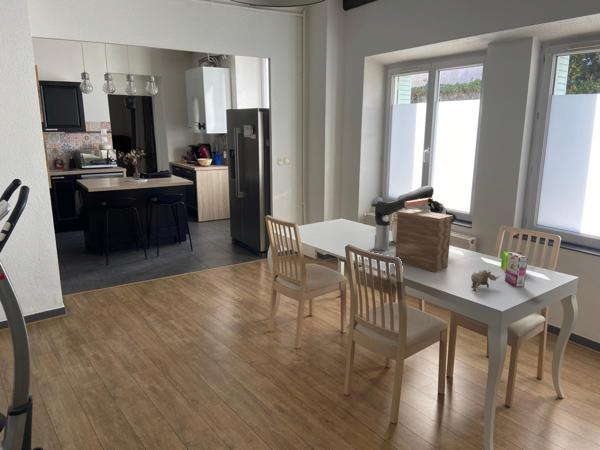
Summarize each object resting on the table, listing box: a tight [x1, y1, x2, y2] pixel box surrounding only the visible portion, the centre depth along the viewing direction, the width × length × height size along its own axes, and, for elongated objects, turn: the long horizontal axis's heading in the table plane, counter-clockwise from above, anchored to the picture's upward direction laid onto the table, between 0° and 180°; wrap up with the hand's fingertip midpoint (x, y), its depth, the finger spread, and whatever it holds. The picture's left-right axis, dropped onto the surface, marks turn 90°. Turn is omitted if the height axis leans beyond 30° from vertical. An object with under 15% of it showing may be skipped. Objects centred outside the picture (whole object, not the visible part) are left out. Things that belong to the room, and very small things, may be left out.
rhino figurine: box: [470, 269, 500, 292], centre depth 230 cm, size 8×14×15 cm
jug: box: [390, 208, 406, 244], centre depth 324 cm, size 15×16×25 cm
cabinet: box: [394, 208, 453, 273], centre depth 266 cm, size 15×29×32 cm, turn 42°
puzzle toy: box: [500, 251, 525, 273], centre depth 260 cm, size 10×10×10 cm
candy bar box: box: [504, 251, 529, 288], centre depth 236 cm, size 11×5×16 cm, turn 5°
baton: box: [404, 197, 434, 208], centre depth 269 cm, size 26×3×3 cm, turn 132°
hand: (426, 198), depth 274 cm, fingers closed on baton, 3 cm apart
